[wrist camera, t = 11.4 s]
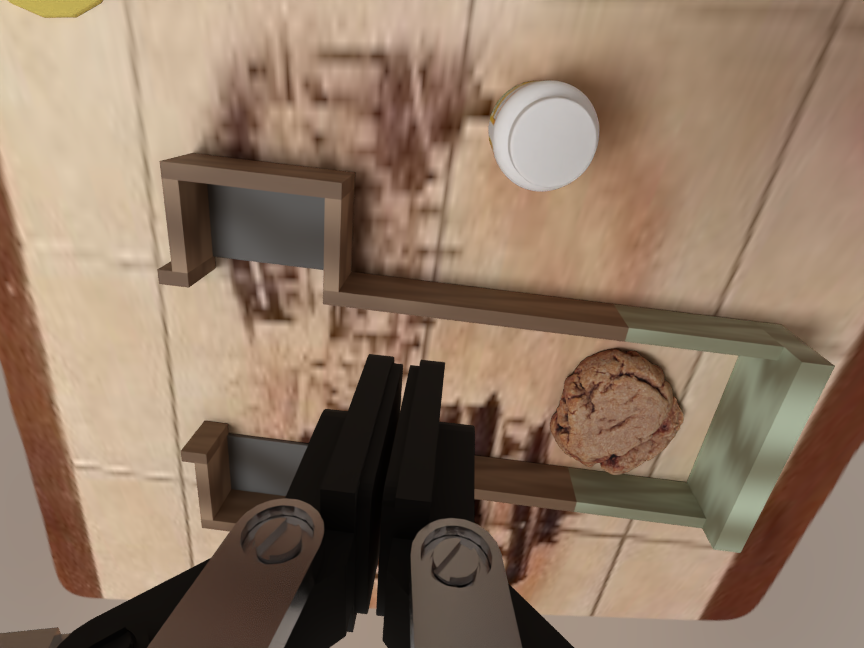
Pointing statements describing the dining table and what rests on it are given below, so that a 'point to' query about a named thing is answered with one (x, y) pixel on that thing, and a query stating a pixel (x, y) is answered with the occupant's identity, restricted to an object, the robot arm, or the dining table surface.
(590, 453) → the cookie
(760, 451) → the channel
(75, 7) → the candle
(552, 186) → the supplement bottle
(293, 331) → the dining table surface
